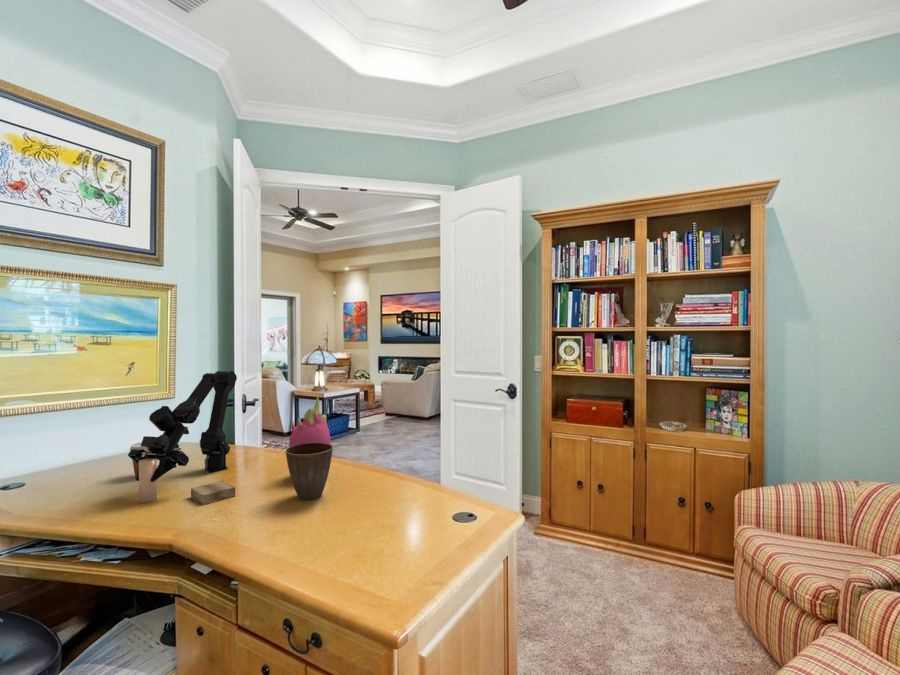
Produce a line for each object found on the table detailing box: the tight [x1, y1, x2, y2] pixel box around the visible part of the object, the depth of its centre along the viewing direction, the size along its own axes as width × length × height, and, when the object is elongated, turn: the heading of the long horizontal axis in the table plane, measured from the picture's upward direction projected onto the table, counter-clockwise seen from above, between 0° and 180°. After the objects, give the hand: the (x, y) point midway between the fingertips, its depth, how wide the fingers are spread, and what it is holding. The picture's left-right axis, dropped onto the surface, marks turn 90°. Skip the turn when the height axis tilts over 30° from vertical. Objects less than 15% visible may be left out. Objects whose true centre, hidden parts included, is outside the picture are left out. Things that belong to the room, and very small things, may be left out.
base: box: [190, 480, 236, 506], centre depth 148 cm, size 10×10×3 cm
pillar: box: [138, 458, 158, 504], centre depth 145 cm, size 5×5×13 cm
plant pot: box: [285, 443, 334, 501], centre depth 148 cm, size 15×15×16 cm
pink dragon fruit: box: [289, 396, 332, 447], centre depth 169 cm, size 18×14×30 cm
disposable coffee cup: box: [129, 442, 151, 479], centre depth 170 cm, size 10×10×12 cm
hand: (144, 481), depth 144 cm, fingers closed on pillar, 5 cm apart
